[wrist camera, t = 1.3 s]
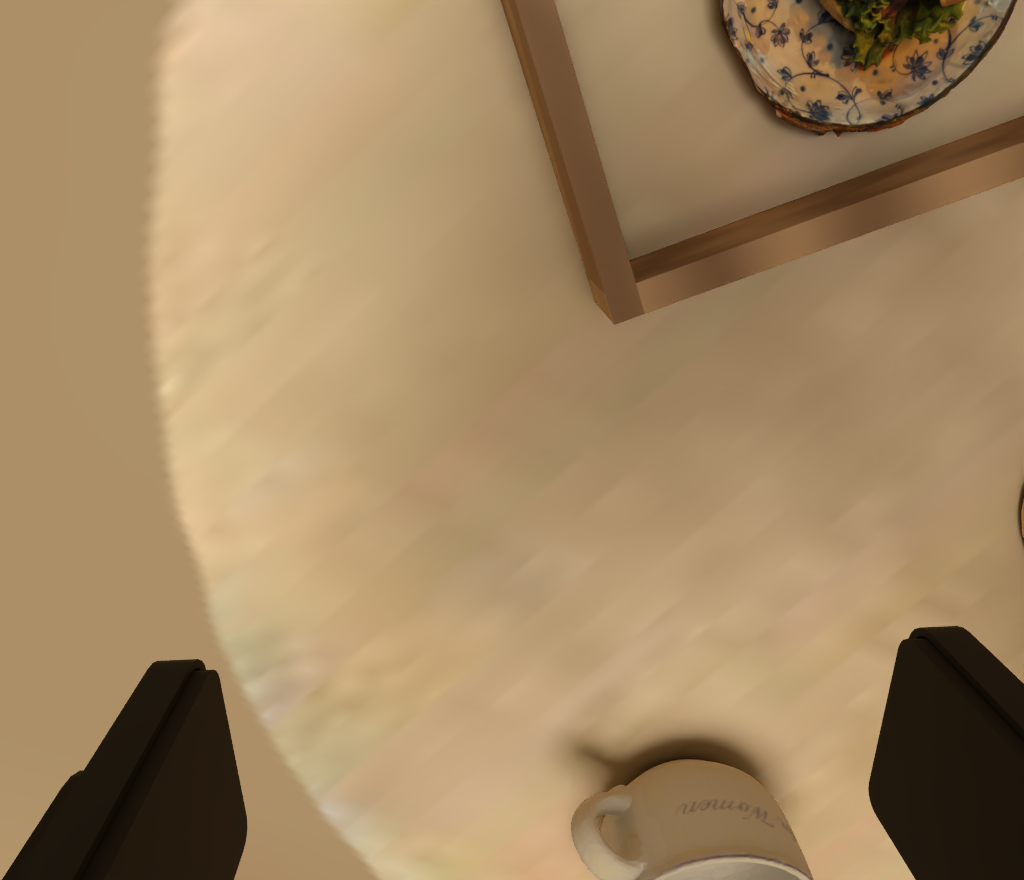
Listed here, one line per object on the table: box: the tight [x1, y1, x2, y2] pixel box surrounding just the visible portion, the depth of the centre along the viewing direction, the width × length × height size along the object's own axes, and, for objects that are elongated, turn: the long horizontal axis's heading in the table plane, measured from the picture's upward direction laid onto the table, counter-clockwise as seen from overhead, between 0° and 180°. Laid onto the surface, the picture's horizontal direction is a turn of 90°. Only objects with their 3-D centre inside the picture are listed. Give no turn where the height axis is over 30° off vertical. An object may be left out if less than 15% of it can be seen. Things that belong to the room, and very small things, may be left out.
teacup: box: [571, 759, 814, 880], centre depth 38 cm, size 14×11×8 cm
